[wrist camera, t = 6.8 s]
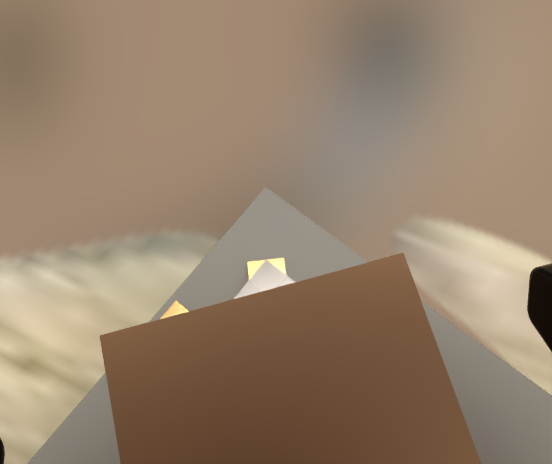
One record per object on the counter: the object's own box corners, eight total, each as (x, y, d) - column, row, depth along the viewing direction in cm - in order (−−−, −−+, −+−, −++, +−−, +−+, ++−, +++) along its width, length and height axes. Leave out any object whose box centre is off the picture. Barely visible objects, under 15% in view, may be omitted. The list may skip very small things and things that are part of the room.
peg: (349, 451, 17) (532, 601, 5) (245, 483, 16) (163, 728, 4) (317, 346, 18) (403, 253, 6) (220, 374, 17) (99, 335, 6)
